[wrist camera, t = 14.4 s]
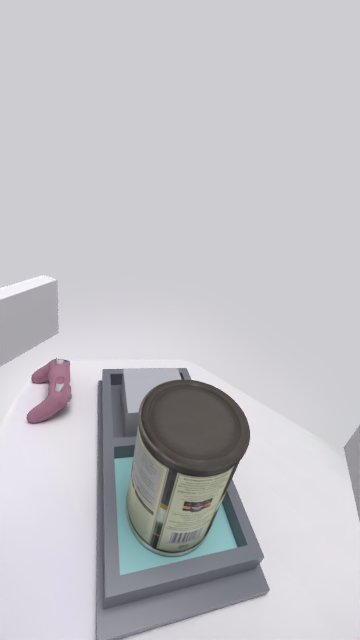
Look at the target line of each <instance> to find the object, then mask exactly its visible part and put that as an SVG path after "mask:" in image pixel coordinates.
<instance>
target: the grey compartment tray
mask: <svg viewBox="0 0 360 640" xmlns="http://www.w3.org/2000/svg"><path fill="white" fill-rule="evenodd" d="M172 380H191V378H190V376H189V373H188V371H187V368H141V369H103V372H102V381H99V382H98V498H97V637H96V640H118V639H122V638H125V637H128V636H131V635H135V634H138V633H141V632H144V631H148V630H151V629H154V628H157V627H161V626H164V625H167V624H170V623H174V622H177V621H180V620H184V619H187V618H190V617H193V616H197V615H200V614H203V613H206V612H210V611H213V610H216V609H219V608H223V607H226V606H229V605H232V604H236V603H239V602H242V601H245V600H249V599H252V598H255V597H259V596H262V595H265V594H267V593H268V591H269V590H270V589H269V587H268V584H267V582H266V579H265V577H264V574H263V572H262V569H261V567H260V562H261V561H262V559H263V558H264V555H263V553H262V551H261V548H260V546H259V543H258V541H257V538H256V536H255V533H254V531H253V529H252V526H251V524H250V521H249V519H248V516H247V514H246V512H245V509H244V507H243V504H242V502H241V499H240V497H239V495H238V492H237V490H236V487H235V485H234V482H233V480H231V482H230V484H229V487H228V489H227V491H226V493H225V496H224V498H223V500H222V503H221V505H220V507H219V509H218V512H217V514H216V517H215V519H214V521H213V523H212V527H211V530H210V532H209V534H208V536H207V538H206V539H205V540H204V542H203V543H202V544H201V545H200V546H199V547H198V548H196V549H195V550H194V551H192V552H190V553H188V554H185V555H182V556H175V557H170V556H163V555H159V554H156V553H154V552H152V551H150V550H149V549H147V548H146V547H145V546H144V545H143V544H142V543H141V542H140V541H139V540H138V539H137V537H136V536H135V535H134V534H133V532H132V529H131V527H130V525H129V522H128V519H127V515H126V497H127V492H128V489H129V483H130V476H131V470H132V463H133V456H134V450H135V443H136V436H137V429H138V412H139V408H140V404H141V402H142V400H143V398H144V397H145V395H146V394H147V393H148V392H149V391H150V390H151V389H153V388H154V387H156V386H157V385H160V384H162V383H164V382H168V381H172Z"/></svg>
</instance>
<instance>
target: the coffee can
mask: <svg viewBox="0 0 360 640" xmlns="http://www.w3.org/2000/svg"><path fill="white" fill-rule="evenodd" d="M249 441H250V429H249V425H248V421H247V418H246V416H245V414H244V412H243V411H242V409H241V408H240V407H239V405H238V404H237V403H236V402H235V401H234V400H233V399H232V398H231V397H229V396H228V395H227V394H225V393H224V392H223V391H221V390H219V389H218V388H216V387H214V386H211V385H209V384H206V383H203V382H199V381H194V380H172V381H168V382H164V383H162V384H160V385H157V386H156V387H154V388H153V389H151V390H150V391H149V392H148V393H147V394H146V395H145V397H144V398H143V400H142V402H141V404H140V408H139V412H138V429H137V436H136V443H135V450H134V456H133V463H132V470H131V476H130V483H129V489H128V492H127V497H126V515H127V519H128V522H129V525H130V527H131V529H132V532H133V534H134V535H135V536H136V537H137V539H138V540H139V541H140V542H141V543H142V544H143V545H144V546H145V547H146V548H147V549H149V550H150V551H152V552H154V553H156V554H159V555H163V556H170V557H175V556H182V555H185V554H188V553H190V552H192V551H194V550H195V549H196V548H198V547H199V546H200V545H201V544H202V543H203V542H204V540H205V539H206V538H207V536H208V534H209V532H210V530H211V527H212V523H213V521H214V519H215V517H216V514H217V512H218V509H219V507H220V505H221V503H222V500H223V498H224V496H225V493H226V491H227V489H228V487H229V484H230V482H231V480H232V477H233V475H234V473H235V471H236V468H237V466H238V464H239V461H240V460H241V459H242V457H243V456H244V454H245V452H246V450H247V448H248V445H249Z"/></svg>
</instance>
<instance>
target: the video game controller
mask: <svg viewBox="0 0 360 640" xmlns="http://www.w3.org/2000/svg"><path fill="white" fill-rule="evenodd" d="M31 379H32V381H33V382H35V383H42V382H46V381H49V393H48V397H47V398H46V399H45V400H44V401H43V402H42V403H40V404H39V405H38V406H36V407H35V408H33V409H32V410H31V411H30V412H29V413H28V414H27V420H28V421H29V422H31V423H37V422H41V421H43V420H46V419H48V418H50V417H51V416H53V415H54V414H55V413H57V412H58V411H59V410H60V409H63V408H64V407H65V406H66V404H67V402H69V401H70V400H71V398H72V395H71V394H70V393H71V387H70V386H69V382H70V361H67V360H63V359H57V358H56V359H54V360H52V361H50V362H49V363H48V364H47V365H45V366H43V367H42V368H40V369H38V370H37V371H36V372H34V374H33V375H32V378H31Z"/></svg>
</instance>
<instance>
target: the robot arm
mask: <svg viewBox="0 0 360 640" xmlns="http://www.w3.org/2000/svg"><path fill="white" fill-rule="evenodd" d="M57 295H58V294H57V280H56V279H53V278H50V277H47V276H45V275H42V276H38V277H35V278H32V279H29V280H25V281H22V282H19V283H16V284H12V285H9V286H6V287H3V288H0V366H2V365H4V364H6V363H7V362H9V361H11V360H13V359H14V358H16V357H18V356H19V355H21V354H23V353H25V352H26V351H28V350H30V349H31V348H33V347H35V346H36V345H38V344H40V343H42V342H44V341H45V340H47V339H49V338H50V337H52V336H54V335H56V334H57V333H58V297H57ZM344 450H345V455H346V460H347V464H348V469H349V474H350V478H351V483H352V488H353V492H354V497H355V502H356V506H357V511H358V516H359V520H360V426H359V427H358V428H357V430H356V431H355V433H354V434H353V435H352V437H351V438H350V440H349V441H348V443H347V444H346V445H345V447H344Z"/></svg>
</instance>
